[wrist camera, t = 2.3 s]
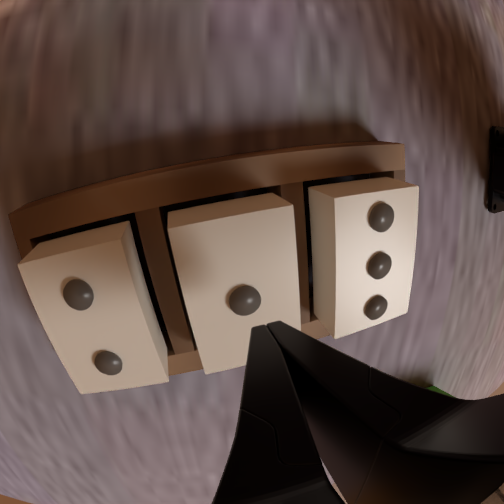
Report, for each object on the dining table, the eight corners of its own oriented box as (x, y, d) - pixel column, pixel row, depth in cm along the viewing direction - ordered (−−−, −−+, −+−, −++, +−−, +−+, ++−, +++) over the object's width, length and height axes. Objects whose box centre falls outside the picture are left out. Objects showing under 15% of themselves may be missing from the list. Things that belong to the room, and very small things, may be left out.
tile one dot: (272, 192, 12) (294, 205, 10) (284, 321, 14) (303, 351, 12) (168, 211, 11) (167, 230, 9) (199, 341, 13) (205, 377, 11)
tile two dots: (129, 220, 11) (119, 240, 9) (167, 348, 13) (168, 384, 11) (39, 243, 10) (15, 266, 8) (88, 361, 12) (80, 396, 10)
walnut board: (379, 140, 14) (404, 144, 12) (376, 295, 18) (395, 312, 16) (27, 203, 11) (8, 214, 9) (89, 363, 14) (83, 388, 13)
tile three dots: (386, 176, 13) (421, 186, 11) (382, 292, 15) (408, 314, 13) (307, 187, 12) (336, 199, 10) (313, 313, 14) (336, 341, 12)
